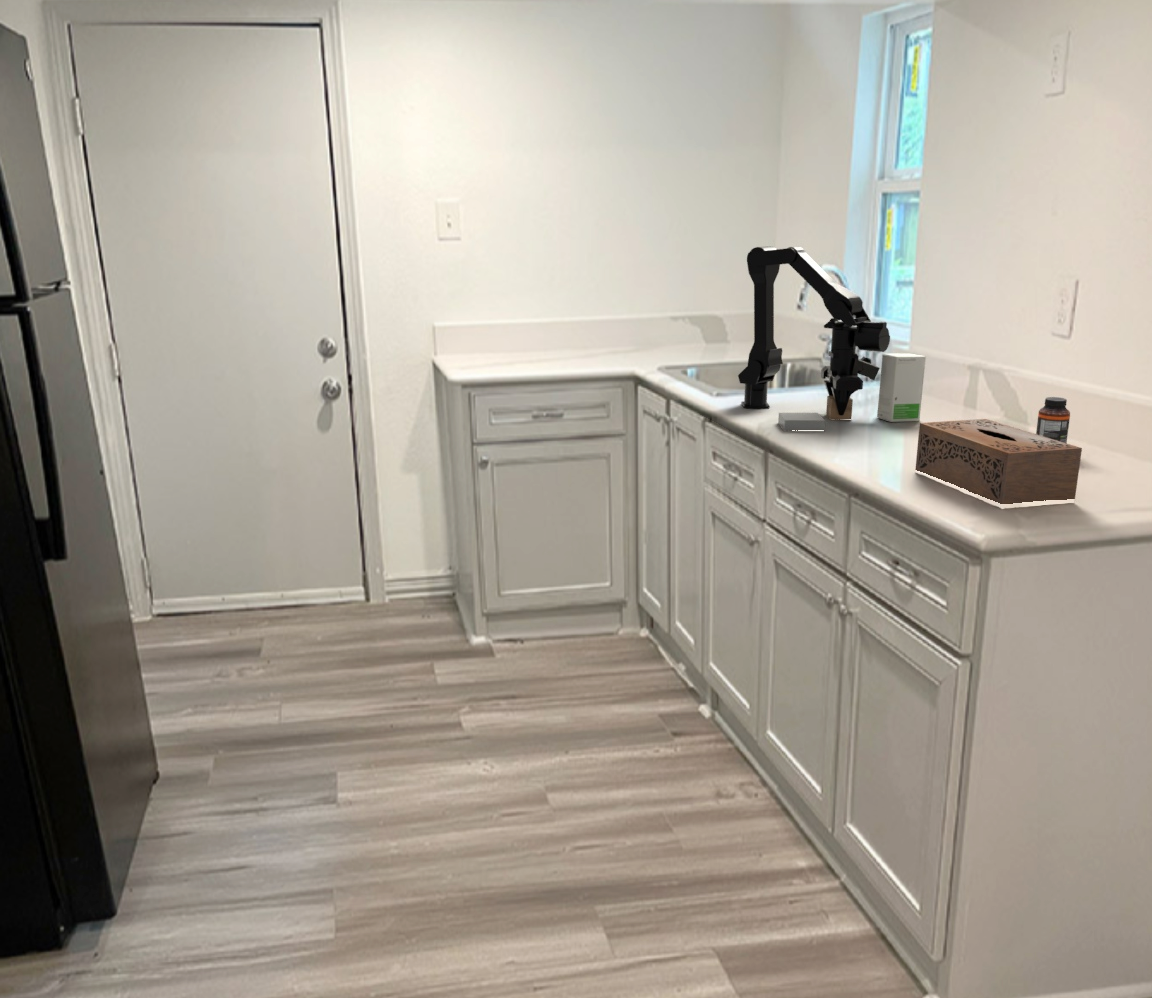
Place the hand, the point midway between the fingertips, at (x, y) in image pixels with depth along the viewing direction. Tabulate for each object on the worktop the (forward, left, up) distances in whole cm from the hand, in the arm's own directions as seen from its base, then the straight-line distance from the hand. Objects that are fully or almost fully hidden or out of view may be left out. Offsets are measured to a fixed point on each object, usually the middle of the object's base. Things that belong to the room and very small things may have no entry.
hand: (838, 413), depth 246 cm
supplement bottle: (+35, +36, -2) cm, 50 cm away
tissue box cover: (+63, +14, -2) cm, 65 cm away
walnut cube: (0, 0, -1) cm, 1 cm away
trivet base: (+11, -11, -2) cm, 16 cm away
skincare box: (+1, +14, -2) cm, 14 cm away
